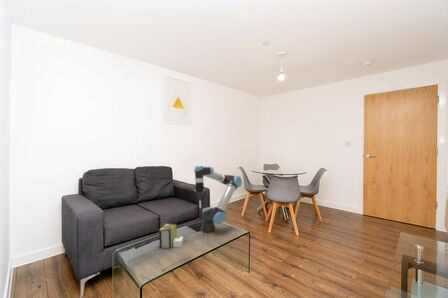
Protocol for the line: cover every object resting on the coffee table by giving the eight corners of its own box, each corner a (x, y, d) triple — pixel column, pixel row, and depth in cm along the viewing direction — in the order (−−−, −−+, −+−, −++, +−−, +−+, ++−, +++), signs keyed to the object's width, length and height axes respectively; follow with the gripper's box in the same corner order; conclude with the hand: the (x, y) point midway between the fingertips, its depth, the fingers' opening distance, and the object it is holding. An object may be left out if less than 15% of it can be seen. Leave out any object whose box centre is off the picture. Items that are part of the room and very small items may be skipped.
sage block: (174, 243, 184) (174, 238, 184) (182, 243, 184) (182, 237, 184) (173, 247, 177) (173, 241, 177) (181, 247, 177) (181, 241, 177)
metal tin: (178, 239, 192) (178, 235, 192) (185, 239, 193) (185, 234, 193) (177, 242, 186) (177, 238, 186) (184, 242, 187) (184, 237, 187)
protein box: (176, 240, 190) (176, 223, 191) (171, 248, 175) (170, 229, 175) (166, 240, 191) (165, 223, 192) (159, 248, 176) (158, 229, 176)
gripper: (192, 183, 188) (193, 209, 187) (206, 182, 189) (207, 208, 189) (192, 182, 195) (193, 207, 194) (206, 181, 197) (207, 206, 196)
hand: (200, 207), depth 192 cm, fingers closed
